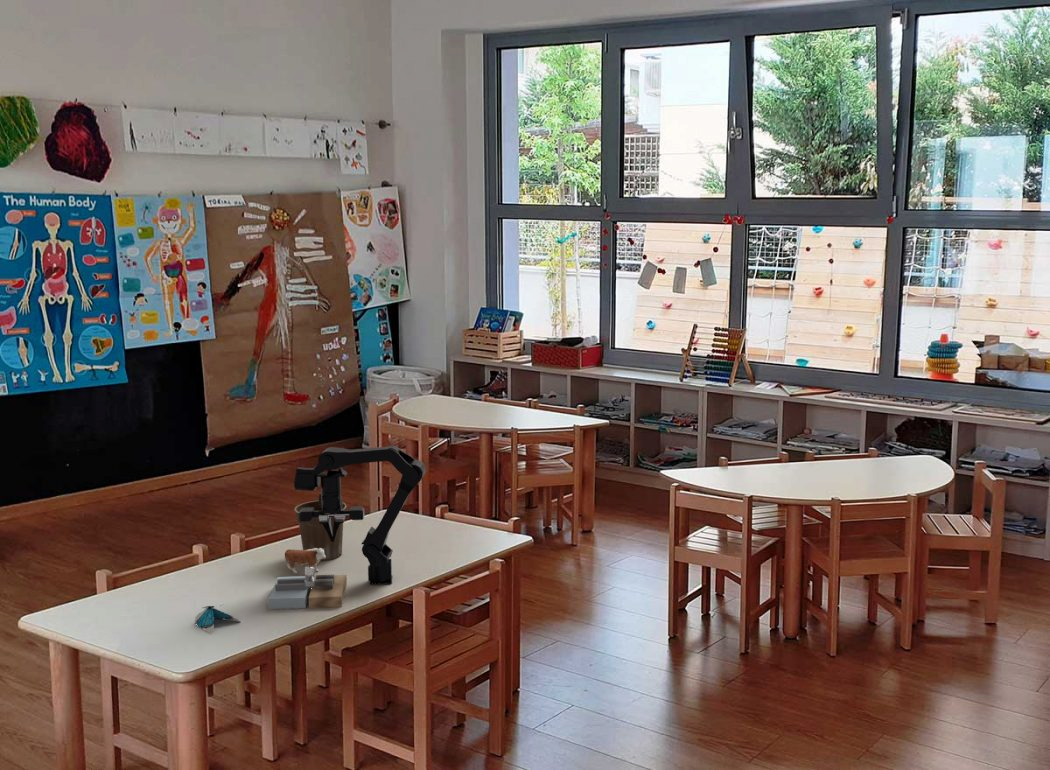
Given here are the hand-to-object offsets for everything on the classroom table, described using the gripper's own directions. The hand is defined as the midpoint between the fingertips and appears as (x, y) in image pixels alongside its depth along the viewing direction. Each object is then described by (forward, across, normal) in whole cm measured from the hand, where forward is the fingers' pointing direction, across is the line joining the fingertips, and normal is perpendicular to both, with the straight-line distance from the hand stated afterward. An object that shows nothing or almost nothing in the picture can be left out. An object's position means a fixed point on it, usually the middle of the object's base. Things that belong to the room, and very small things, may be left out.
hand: (332, 541), depth 321 cm
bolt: (+9, +3, +13) cm, 16 cm away
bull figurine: (+12, +9, -8) cm, 17 cm away
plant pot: (+12, +6, -24) cm, 28 cm away
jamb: (+12, 0, +13) cm, 18 cm away
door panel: (+12, +11, +13) cm, 21 cm away
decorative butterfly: (+13, +29, +31) cm, 45 cm away
